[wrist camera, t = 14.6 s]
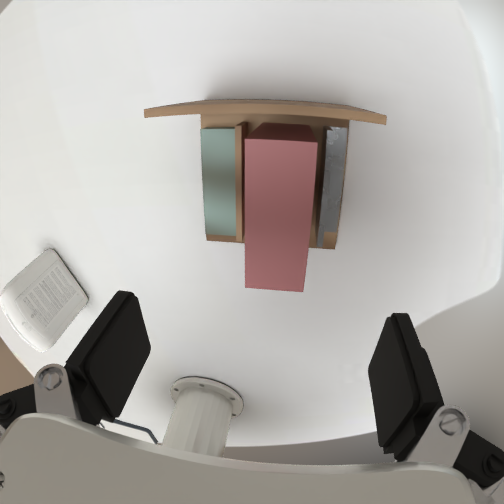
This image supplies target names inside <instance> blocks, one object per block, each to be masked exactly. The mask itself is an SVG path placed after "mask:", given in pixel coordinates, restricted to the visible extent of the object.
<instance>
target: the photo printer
mask: <svg viewBox="0 0 504 504" xmlns="http://www.w3.org/2000/svg"><path fill="white" fill-rule="evenodd" d="M87 301H88V298H87V296H86V294H85V293H84V291H83V290H82V289H81V287H80V286H79V284H78V283H77V282H76V280H75V279H74V277H73V276H72V275H71V273H70V272H69V270H68V269H67V267H66V266H65V265H64V263H63V262H62V260H61V259H60V257H59V256H58V255H57V253H56V252H55V251H54V250H52V249H47V250H45V251H44V252H43V253H42V254H41V255H39V256H38V257H37V258H36V259H35V260H33V261H32V262H31V263H30V264H29V265H28V266H26V267H25V268H24V269H23V270H22V271H21V272H20V273H19V274H17V275H16V276H15V277H14V278H13V279H12V280H11V281H10V282H9V283H8V284H7V285H6V286H5V288H4V289H3V291H2V294H1V296H0V305H1V308H2V310H3V312H4V314H5V316H6V318H7V320H8V321H9V323H10V324H11V326H12V327H13V329H14V330H15V331H16V332H17V334H18V335H19V336H20V337H21V338H22V339H23V340H24V341H25V342H26V343H28V344H29V345H30V346H31V347H33V348H34V349H36V350H37V351H39V352H41V353H42V352H46V351H47V350H48V349H49V348H51V347H52V346H53V345H54V344H55V343H56V342H57V340H58V339H59V338H60V336H61V335H62V334H63V332H64V331H65V330H66V329H67V327H68V326H69V325H70V324H71V322H72V321H73V320H74V319H75V317H76V316H77V315H78V314H79V312H80V311H81V310H82V309H83V307H84V306H85V305H86V304H87Z"/></svg>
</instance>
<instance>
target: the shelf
mask: <svg viewBox="0 0 504 504" xmlns="http://www.w3.org/2000/svg"><path fill="white" fill-rule="evenodd" d="M187 114H201V129H200V131H201V159H202V180H203V199H204V216H205V231H206V238H207V241H221V242H237V243H245V138H246V137H247V136H249V135H250V134H251V133H252V132H253V131H254V130H255V129H256V128H257V127H258V126H259V125H260V124H261V123H287V124H303V125H309V126H310V128H311V130H312V132H313V134H314V136H315V138H316V140H317V142H318V145H317V160H316V174H315V186H314V198H313V209H312V219H311V229H310V239H309V248H323V249H335V245H336V238H337V231H338V224H339V217H340V209H341V201H342V193H343V184H344V175H345V165H346V154H347V143H348V130H349V120H356V121H364V122H371V123H377V124H384V125H386V118H387V116H386V115H382V114H379V113H375V112H371V111H368V110H364V109H360V108H356V107H352V106H347V105H338V104H328V103H317V102H305V101H288V100H257V99H232V100H203V101H194V102H187V103H179V104H173V105H166V106H160V107H154V108H149V109H144V118H148V117H159V116H171V115H187ZM323 126H333V127H343V128H348V129H347V142H346V154H345V164H344V174H343V184H342V193H341V201H340V209H339V217H338V224H337V231H336V233H335V232H324V239H323V247H317V245H316V236H315V222H316V212H317V202H318V191H319V179H320V167H321V153H322V138H323Z"/></svg>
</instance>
